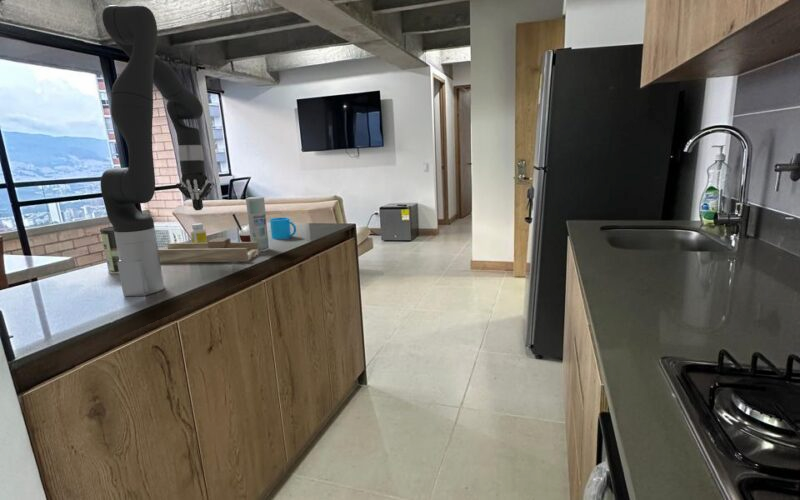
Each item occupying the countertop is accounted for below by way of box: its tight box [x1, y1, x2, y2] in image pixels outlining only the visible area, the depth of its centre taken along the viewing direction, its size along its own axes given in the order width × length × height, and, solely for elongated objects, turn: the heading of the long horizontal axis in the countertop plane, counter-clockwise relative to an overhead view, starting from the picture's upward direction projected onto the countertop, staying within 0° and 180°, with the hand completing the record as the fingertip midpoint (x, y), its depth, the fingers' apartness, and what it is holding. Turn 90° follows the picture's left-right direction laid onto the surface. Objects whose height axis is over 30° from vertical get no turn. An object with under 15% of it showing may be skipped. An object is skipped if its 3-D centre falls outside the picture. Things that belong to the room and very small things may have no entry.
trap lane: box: [158, 241, 260, 264], centre depth 150 cm, size 11×34×4 cm, turn 87°
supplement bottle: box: [190, 223, 208, 243], centre depth 166 cm, size 5×5×10 cm
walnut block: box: [207, 237, 231, 249], centre depth 150 cm, size 6×6×4 cm
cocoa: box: [231, 213, 251, 242], centre depth 175 cm, size 10×6×12 cm, turn 69°
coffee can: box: [99, 226, 120, 275], centre depth 137 cm, size 10×10×14 cm
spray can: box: [245, 196, 270, 253], centre depth 159 cm, size 6×6×20 cm
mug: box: [269, 217, 297, 240], centre depth 183 cm, size 12×8×8 cm
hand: (198, 210), depth 147 cm, fingers closed
